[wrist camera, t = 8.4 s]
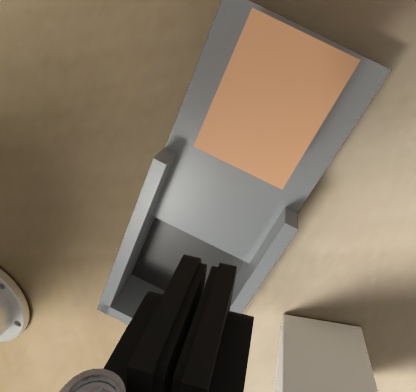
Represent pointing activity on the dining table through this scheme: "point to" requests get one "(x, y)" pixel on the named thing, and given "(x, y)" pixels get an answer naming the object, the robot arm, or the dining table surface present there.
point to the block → (273, 98)
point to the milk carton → (322, 357)
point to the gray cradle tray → (223, 185)
